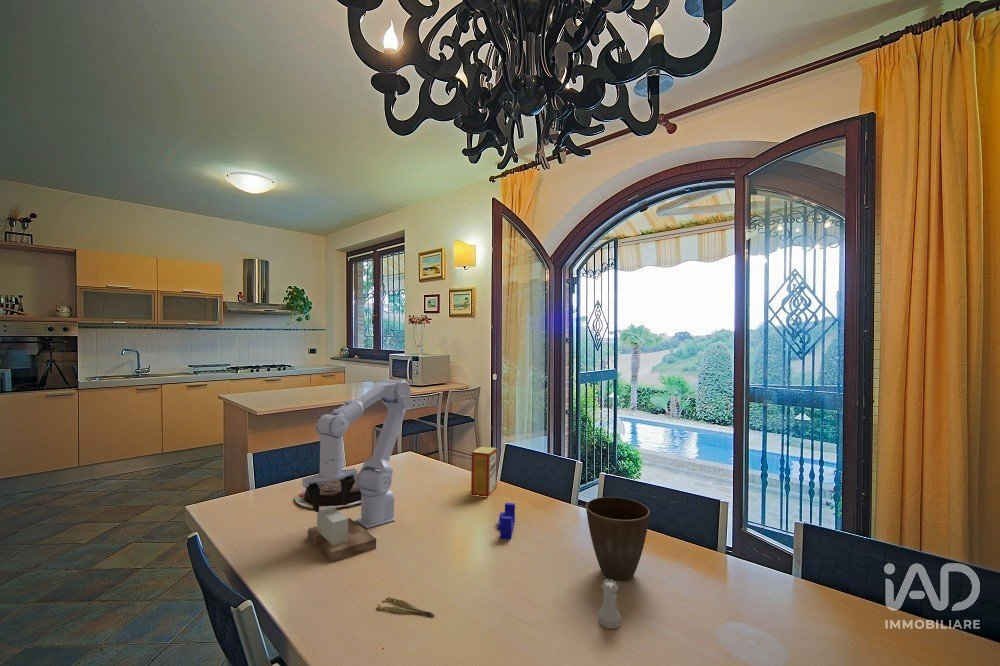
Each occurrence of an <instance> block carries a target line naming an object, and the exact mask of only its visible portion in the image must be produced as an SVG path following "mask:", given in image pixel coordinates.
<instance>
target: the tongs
mask: <svg viewBox="0 0 1000 666" xmlns="http://www.w3.org/2000/svg"><path fill="white" fill-rule="evenodd" d="M381 602H382V603H385V602H386V603H387V602H389V603H393V604H396V605H398V606H386V605H385V606H382V605H381V604H377V607H376V610H380V611H381V610H382V611H387V612H394V613H395V612H396V613H402V614H403V613H404V614H405V613H406V614H413V615H419V616H420V615H421V616H425V617H430V618H435V614H434V613H432V612H430V611H426V610H423V609H420V608H417V607H415V606H414V605H412V604H410V603H409V602H407V601H406V600H403V599H399V598H398V599H397V598H394V597H393V598H392V597H390V596H389V597H388V596H387V597H386V598H385V599H384V600H381ZM399 606H402V608H401V607H399ZM403 607H404V608H403ZM405 608H407V609H405Z"/></svg>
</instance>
